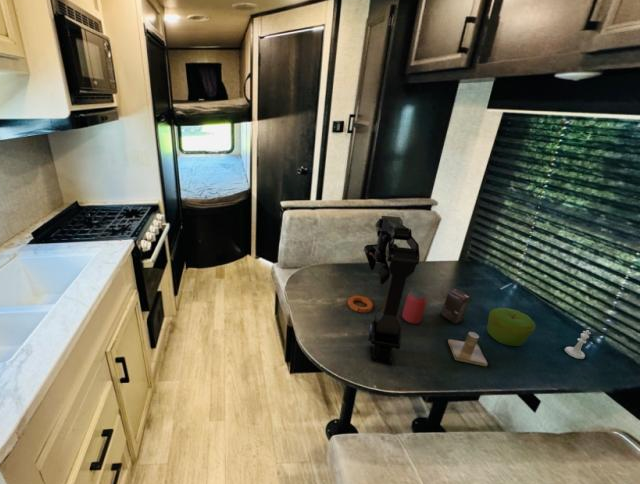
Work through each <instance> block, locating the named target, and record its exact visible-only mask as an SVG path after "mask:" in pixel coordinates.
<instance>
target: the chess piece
mask: <svg viewBox="0 0 640 484" xmlns="http://www.w3.org/2000/svg"><path fill="white" fill-rule="evenodd" d="M591 334H592V333H591V332H590V330H588V329H586V330H582V332H581V333H580V338H579V337H578V338H577V339H576V340H577V341H578V342H577V343H576V344H575V345H574V346H566V347H565V348H564V351H565V353H566V354H568V355H569V356H570V357H573V358H575V359H577V360H579V359H580V360H583V359H585V357H586V354H585V353H584V351H582V347H583V345H584V344H587V340H588V339H590V335H591Z"/></svg>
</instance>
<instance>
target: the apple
mask: <svg viewBox="0 0 640 484" xmlns="http://www.w3.org/2000/svg"><path fill="white" fill-rule="evenodd" d="M487 320H488V321H487V327H486V331H487V332H486V333H488V334H489V336H491V337H492V338H493V339H494V340H495V341H496V342H498V343H500V344H503V345H505V346H510V347H511V346H512V347H520V346H523V345H524V343H525V342H526V341H527V339H528V338H529V337H530V336H531V335H532V334H533V332H534V331H535V330H536V328H537V327H536V322H534V320H533V319H532V318H531V317H530V316H529V315H527V314H526V313H524V312H521V311H519V310H516V309H512V308H508V307H498V308H494V309H492V310H490V311H489V314H488V319H487Z"/></svg>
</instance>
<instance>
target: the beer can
mask: <svg viewBox="0 0 640 484" xmlns="http://www.w3.org/2000/svg"><path fill="white" fill-rule="evenodd" d="M427 300H428V299H427V294H426V293H425V292H424V291H422V290H418V289H411V290H410V291H409V292H408V294H407V296H406V299H405V303H404V307H403V311H402V314H401V316H402V319H403V320H404V321H406V322H408V323H410V324H419V323H421V321H422V318H423V315H424V312H425V308H426V305H427Z"/></svg>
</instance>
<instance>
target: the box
mask: <svg viewBox="0 0 640 484" xmlns="http://www.w3.org/2000/svg"><path fill="white" fill-rule="evenodd" d="M470 300H471V296H470V295H469V294H468V293H466V292H464V291H462V290H460V289H458V288H456V287H455V288H453V289H450V290H448V292H447V295H446V298H445V301H444V305H443V306H442V311H441V313H440V315H441V316H442V317H443V318H445V319H447V320H448V321H450V322H451V323H452V324H454V325H455V324H458V323H461V322H462V321H463V318H464V316H465V313H466V311H467V308H468V305H469V303H470Z"/></svg>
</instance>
